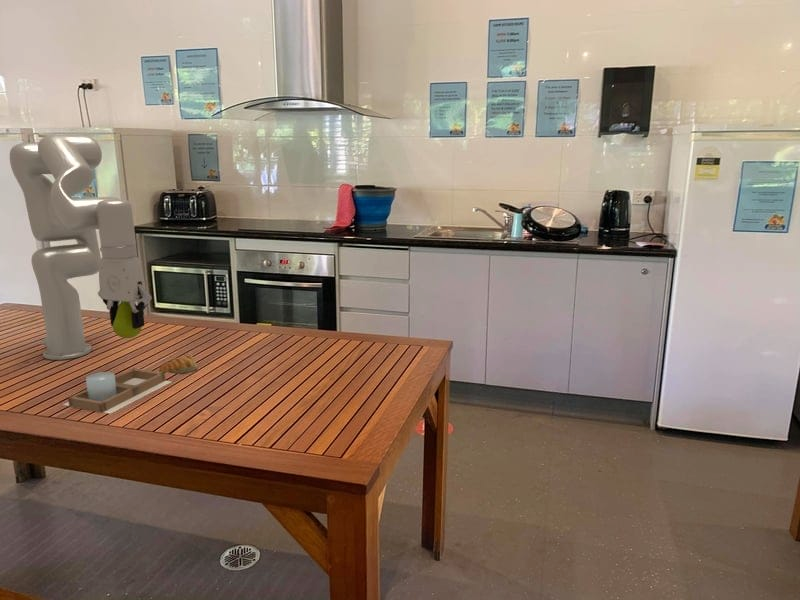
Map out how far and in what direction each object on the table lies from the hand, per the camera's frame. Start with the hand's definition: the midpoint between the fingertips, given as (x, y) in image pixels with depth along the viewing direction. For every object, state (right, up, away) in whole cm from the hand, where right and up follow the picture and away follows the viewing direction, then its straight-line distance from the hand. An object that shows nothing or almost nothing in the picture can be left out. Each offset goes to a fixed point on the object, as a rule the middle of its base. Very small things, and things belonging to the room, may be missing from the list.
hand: (127, 325), depth 144 cm
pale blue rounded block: (-3, -17, -5) cm, 18 cm away
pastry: (+6, -13, +17) cm, 23 cm away
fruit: (0, -3, +1) cm, 3 cm away
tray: (-2, -17, -1) cm, 17 cm away
